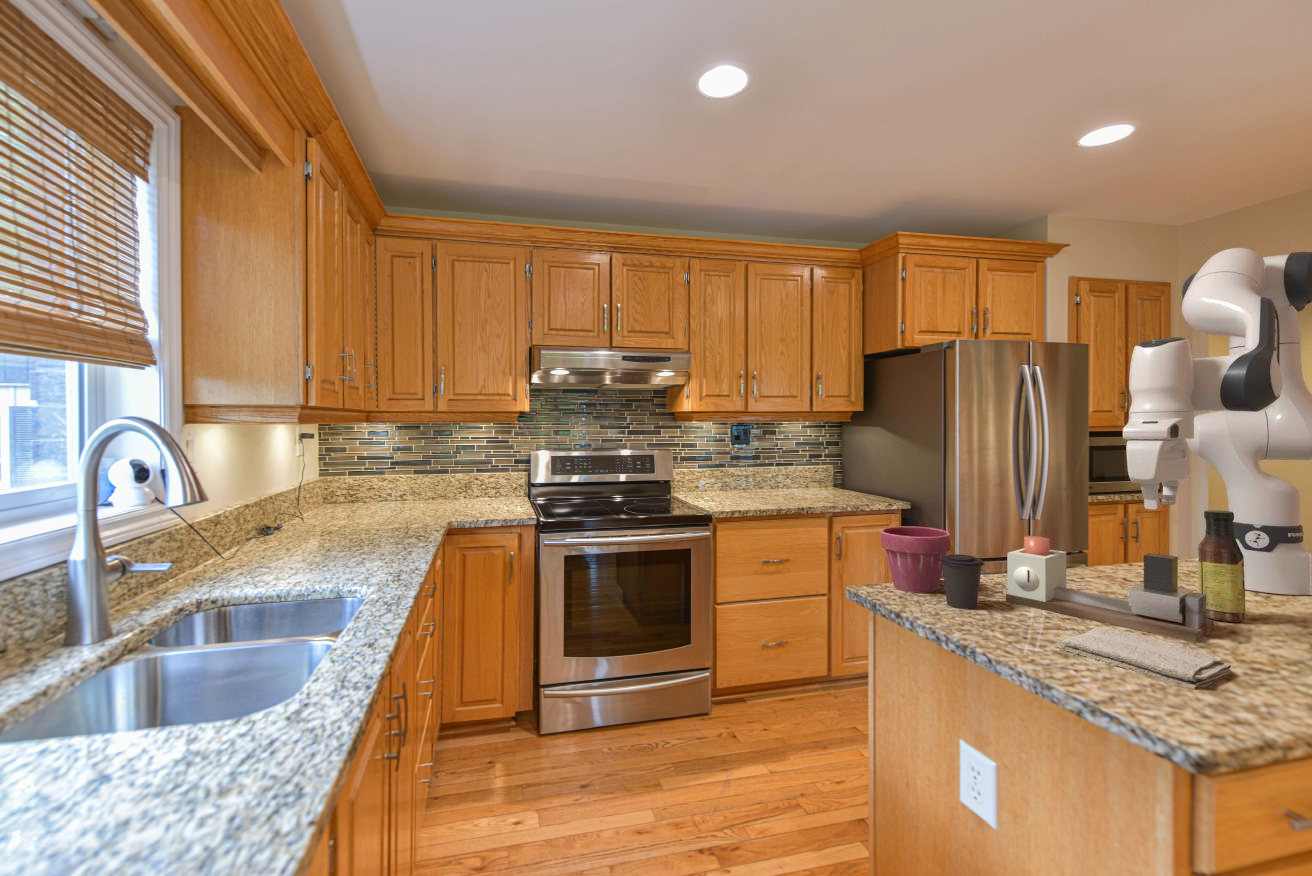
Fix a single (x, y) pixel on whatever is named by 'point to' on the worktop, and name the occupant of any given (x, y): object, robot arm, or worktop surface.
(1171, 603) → the carriage
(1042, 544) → the plunger
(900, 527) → the plant pot
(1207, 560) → the sauce bottle
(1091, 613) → the rail board
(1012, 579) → the gauge cabinet
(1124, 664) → the washcloth
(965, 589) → the coffee cup
